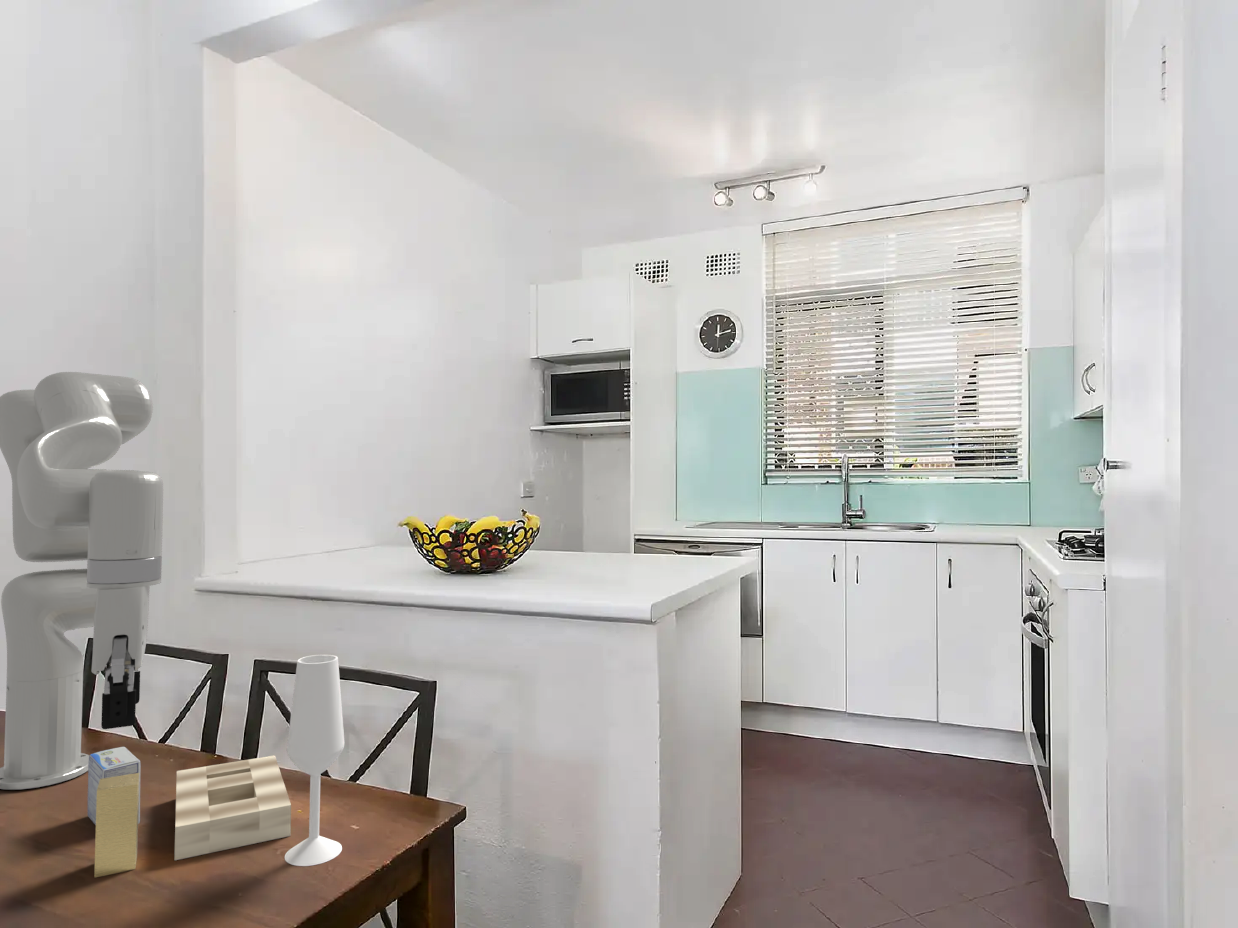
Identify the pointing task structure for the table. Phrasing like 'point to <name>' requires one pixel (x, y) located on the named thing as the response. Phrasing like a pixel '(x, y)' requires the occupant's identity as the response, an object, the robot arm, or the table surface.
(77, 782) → the table surface
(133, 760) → the medicine box
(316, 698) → the champagne flute
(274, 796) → the socket block
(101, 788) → the brass peg
